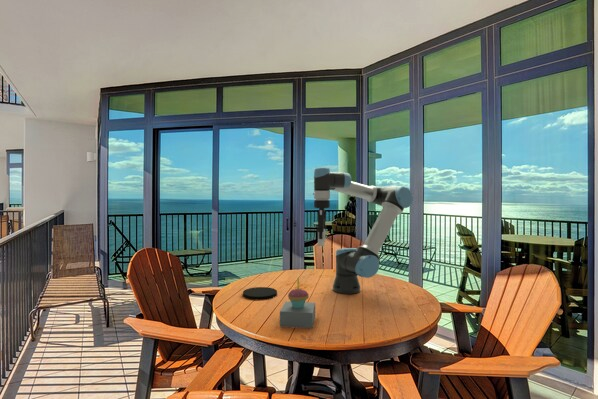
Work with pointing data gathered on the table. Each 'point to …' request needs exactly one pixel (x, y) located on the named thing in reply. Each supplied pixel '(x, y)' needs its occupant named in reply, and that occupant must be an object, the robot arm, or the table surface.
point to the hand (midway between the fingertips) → (321, 243)
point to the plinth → (297, 315)
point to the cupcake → (298, 297)
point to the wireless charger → (259, 293)
